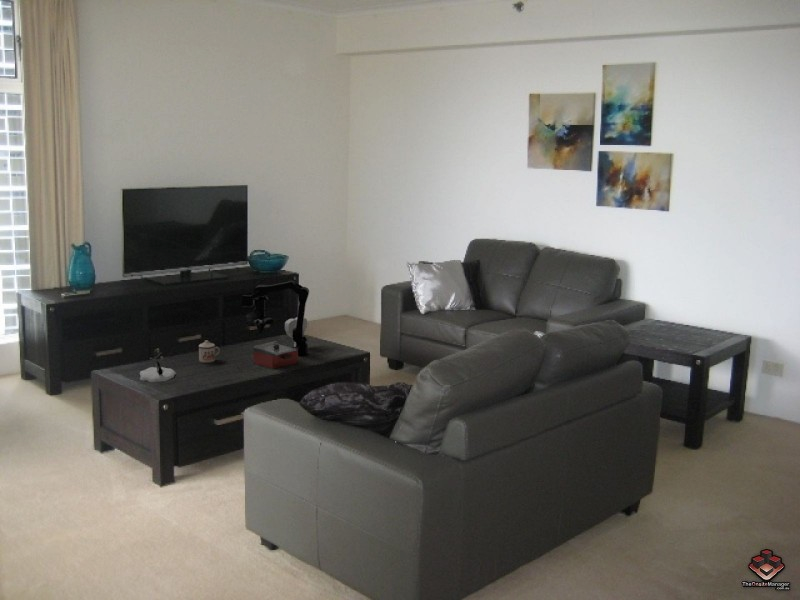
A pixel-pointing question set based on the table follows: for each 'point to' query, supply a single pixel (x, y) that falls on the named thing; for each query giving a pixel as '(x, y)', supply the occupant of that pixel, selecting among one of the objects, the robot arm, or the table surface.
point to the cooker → (275, 358)
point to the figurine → (157, 372)
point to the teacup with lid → (207, 352)
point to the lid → (275, 348)
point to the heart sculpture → (293, 326)
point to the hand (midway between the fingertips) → (260, 333)
